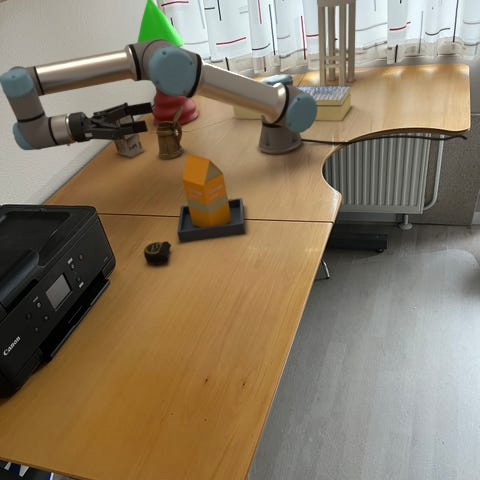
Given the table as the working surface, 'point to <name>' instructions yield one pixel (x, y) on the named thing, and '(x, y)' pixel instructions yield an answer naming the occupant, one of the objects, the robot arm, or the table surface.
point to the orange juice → (205, 192)
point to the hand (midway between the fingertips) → (149, 116)
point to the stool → (330, 2)
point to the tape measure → (157, 252)
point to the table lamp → (161, 28)
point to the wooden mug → (170, 137)
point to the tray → (193, 232)
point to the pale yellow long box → (328, 103)
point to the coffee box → (128, 140)
